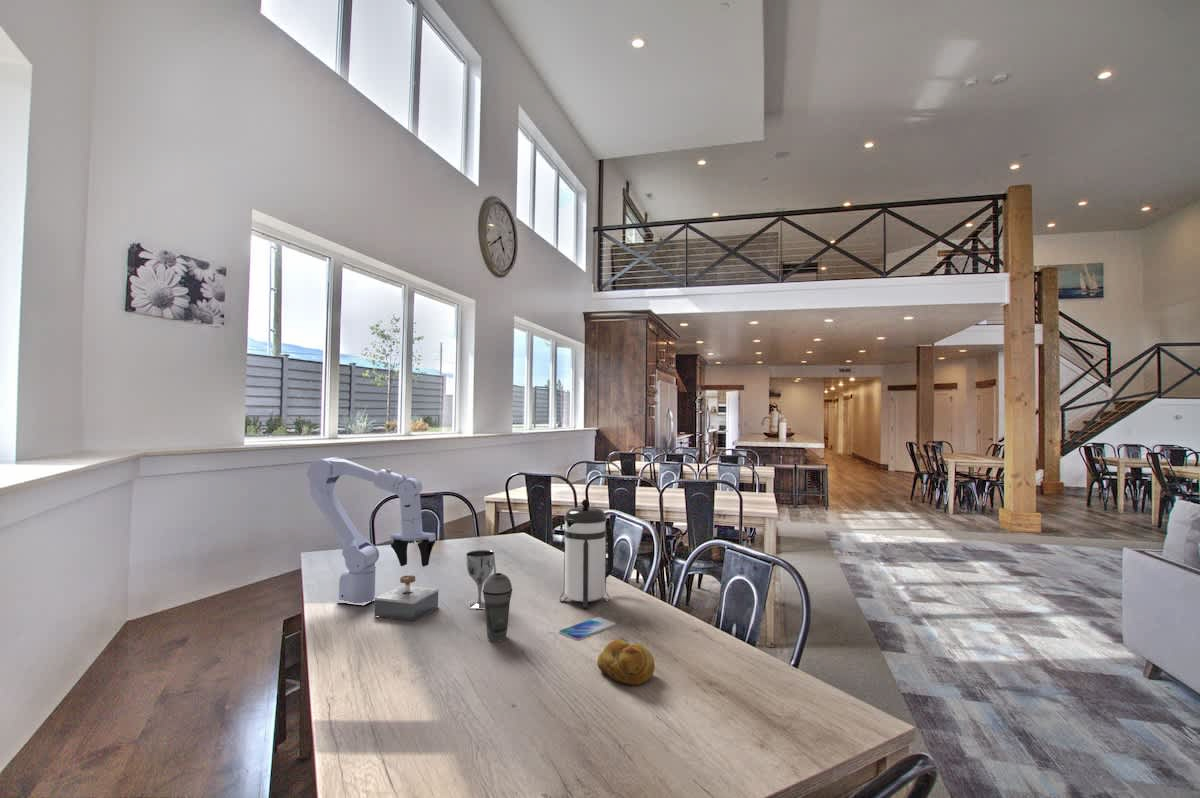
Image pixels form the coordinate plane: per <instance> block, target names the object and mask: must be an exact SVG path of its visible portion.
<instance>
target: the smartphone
mask: <svg viewBox="0 0 1200 798" xmlns="http://www.w3.org/2000/svg"><path fill="white" fill-rule="evenodd" d="M614 626H615V627H617V626H618V623H617V622H614V621H612V620H609V619H607V618H605V617H602V616H597V617H594V618H593V617H592V618H591V619H589V620H585V621H582V622H579V623H577V624H573V625H570V626H569V627H566V628H562V629H560V630H559V631H558V634H559V633H560V634H559V635H561V634H562V636H564V637H566V636H567V638H569V639H571V638H572V639H571V640H574V641H581V640H584V639H586V638H588V637H591V635H592V636H594V635H596V633H597V634H598V633H601V631H602V632H605V631H607V630H609V629H613V628H615V627H614ZM583 638H584V639H583Z"/></svg>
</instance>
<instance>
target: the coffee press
mask: <svg viewBox="0 0 1200 798" xmlns="http://www.w3.org/2000/svg"><path fill="white" fill-rule="evenodd" d="M581 505H582V506H577V507H573V508H570V509H568V510H567V512H566V513H565V515H564V516H563V520H564V527H565V528H564V531H563V532H564V535H563V536H564V540H563V544H564V545H563V550H564V551H563V553H564V554H563V570H564V590H563V592H562V593H561V595H560V596H559V601H560V602H561V600H563V601H564V602H565V601H566V600H567V599H569V600H573V601H575V602H582V609H583V610H588V609H589V602H594V601H598V600H600V599H603V600H604V601H605V602H607V601H606V600H608V602H610V601H611V598H610V595H609V594H608V593H607V578H608V577H609V576H610V575H611V573H612V571H613V569H614V561H615V559H614V556H615V555H614V553H615V552H614V544H615V543H614V542H615V541H614V532H613V530H612V528H611V527H610V526H607V525H606V522H607V520H608V517H607V515H606V513H605V512H604V511H603V509H601V508H598V507H593V506H589V505H590V501H589V500H588V499H586V498H585V499H582V501H581ZM605 593H606V595H607V597H608V599H606V598H605V597H604V596H605ZM563 595H565V598H564V599H561V598H562V596H563Z"/></svg>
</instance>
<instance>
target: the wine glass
mask: <svg viewBox="0 0 1200 798" xmlns="http://www.w3.org/2000/svg"><path fill="white" fill-rule="evenodd" d="M465 555H466V556H465V557H466V559H465V561H466V562H465V563H466V564H465V565H466V570H467V573H468V575H469V577H471V579H472V580H473V581H474V583H475V585H476V586H477V593H478V599H477V601H475V603H474V602H471V603H472V604H471V603H469V604H470V607H471V608H485V601H482V592H483V587H484V583H485V581H486V580H487V578H488V577H489V576H491V575H492V574H493V573H492V572H493V571H494V566H493V555H494V556H495V551H493V550H488V549H478V550H471V551H468V552H467V553H466V554H465Z"/></svg>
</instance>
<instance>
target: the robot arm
mask: <svg viewBox="0 0 1200 798" xmlns="http://www.w3.org/2000/svg"><path fill="white" fill-rule="evenodd" d="M347 475H348V476H351V477H355V478H357V479H360V480H361V479H362V480H365V481H368V482H372V484H373V486H374V487H375V489H376V488H377V489H379V490H382V491H385V492H388V493H391V494H394V495H396V496H397V497H399V504H400V505H399V506H400V508H399V509H400V521H401V522H400V523H401V533H392V534H389V539H390V540H389V541H390V542H392V543H390V547H391V549H393V551H394V552H395V554H396V557H397V559H398V562H399V566H400V567H404V566H406V565H407V564H408V545H409V542H411V541H413V542H417V541H418V543H417V546H418V549H419V553H420V560H421V562H420V563H421V566H422V567H423V568H424V567H426V566H429V564H430V557H431V553H432V550H433V547H434V545H435V543H436V539H437V538H436V533H435V532H426V531H425V532H424V531H423V521H422V520H423V519H422V517H423V516H422V505H421V502H422V501H421V495H420V494H421V493H422V490H423V484H422V482H421V480H419V479H418V478H417V477H415V476H410V477H407V476H408V475H407V474H405V473H404V474H399V473H396V472H393V471H392V469H391V468H386V469H384V468H383V469H380V470H378V471H377V470H374V469H372V468H369V467H367V466H364V465H361V464H359V463H356V462H354V461H351V460H348V459H345V458H339V457H337V456H332V457H331V456H330V457H328V458H327V457H326V458H317V459H315V460H313V461H312V462H311V463H310V464H309V466H308V469H307V471H306V477H308V478H309V479H308V480H309V490H310V496H311V499H313V501H314V503H315V504H316V506H317V508H318V509H319V510H320V512H321V513H322V515H323V517H324V518H325V519H326V521H327V524H328V525H329V527H330V528H331V529H332V531H333V532H334V534H335V535H336V537H337V539H338V540H339V542H340V543H341V545H342V552H341V555H342V556H343V558H344V562H345V563H344V564H345V567H346V568H347V569H345V570H344V571H343V572H342V573H341V575H340V577H339V581H338V583H339V584H338V586H339V587H338V601H339V600H344V601H349V602H353V603H363V602H368V601H372V600H373V599H375V596H376V562H377V561H378V560H379V558H380V551H379V549H378V547H376V546H375V545H374V544H373V543H371V542H370V540H368V538H366V537H365V536H362V535H361V533H360V532H359V531H358V529H357V528H356V526H355V525H354V523H353V521H352V520H351V518H350V516H349V515H348V513H347V512H346V511H345V508H344V507H343V505H342V504H341V502H340V501H339V499H338V497H337V496H336V495H335V492H334V489H335V488H334V487H335V485H336V483H337V481H338V480H339V479H340V478H341V476H347ZM419 541H420V542H419Z"/></svg>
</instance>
